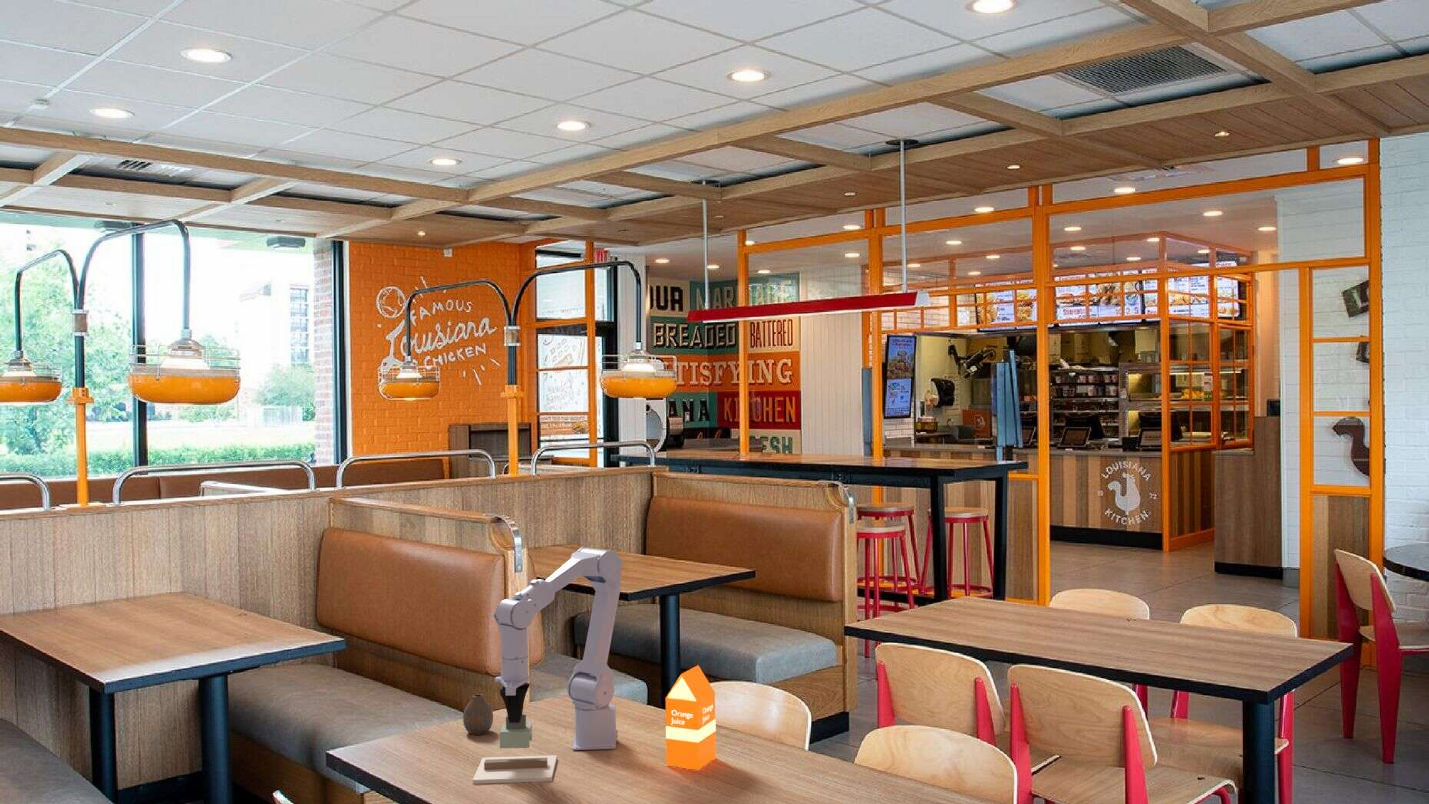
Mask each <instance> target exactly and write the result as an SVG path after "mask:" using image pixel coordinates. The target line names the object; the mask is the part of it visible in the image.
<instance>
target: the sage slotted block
mask: <svg viewBox="0 0 1429 804" xmlns="http://www.w3.org/2000/svg"><path fill="white" fill-rule="evenodd" d="M532 740H533V723H532V722H529V723H527V714H522V715H521V719H520V722H519V723H510V722H509V719H508V715H507V714H506V716H505V723H503V724H502V726H501V728H500V731H499V749H529V748H530V742H532Z"/></svg>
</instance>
